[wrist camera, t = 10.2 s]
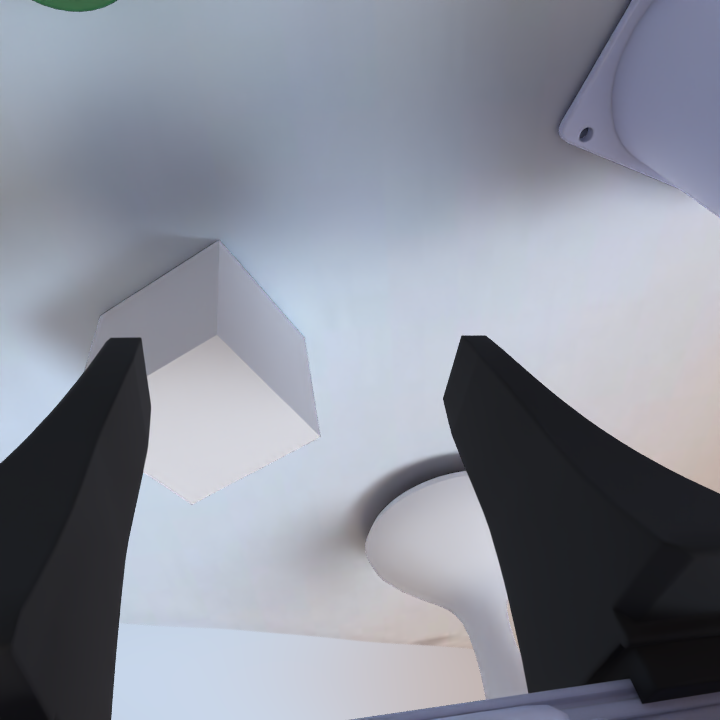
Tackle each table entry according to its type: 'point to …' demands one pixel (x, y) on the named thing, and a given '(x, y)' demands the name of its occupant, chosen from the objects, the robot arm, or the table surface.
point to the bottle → (76, 4)
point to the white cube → (215, 374)
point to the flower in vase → (451, 570)
